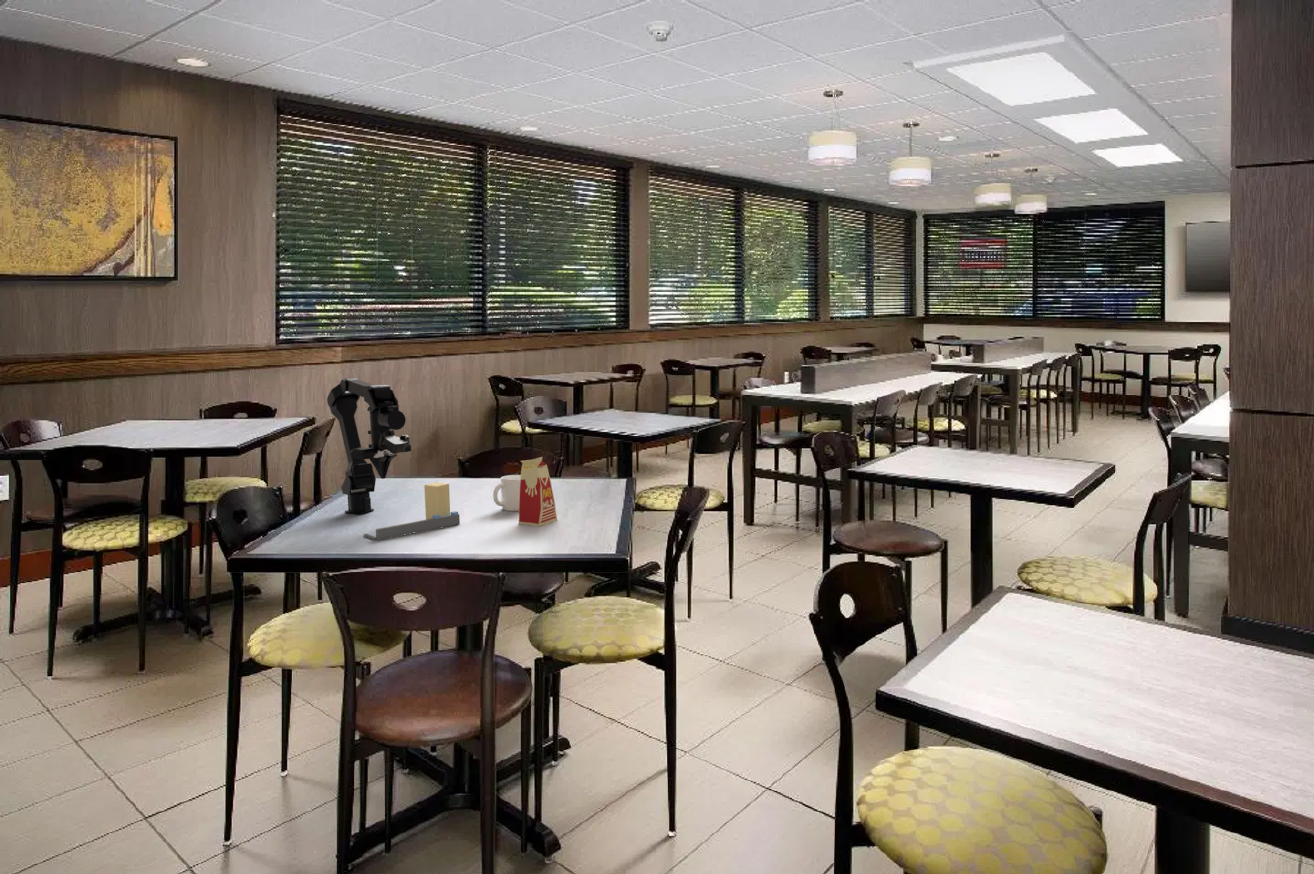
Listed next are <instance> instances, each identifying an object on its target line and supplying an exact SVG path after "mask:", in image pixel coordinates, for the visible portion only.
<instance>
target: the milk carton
mask: <svg viewBox="0 0 1314 874" xmlns="http://www.w3.org/2000/svg"><path fill="white" fill-rule="evenodd" d="M520 462H521V464H522V465H521V470H520V475H521V479H520V493H519V511H518V525H524V526H525V525H527V526H534V527H543V526H545V525H549V524H551V523H554V522H558V517H557V515H558V514H557V509H556V502H555V495H554V492H553V491H554V490H553V485H552V481H551V477H550V473H549V468H548V465H547V464H546V463H545V462H544V461H543V456H541V457H536V458H533V459H526V460H520Z"/></svg>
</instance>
